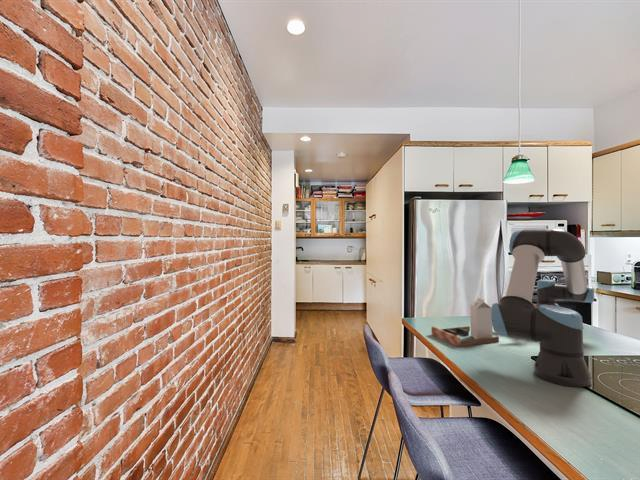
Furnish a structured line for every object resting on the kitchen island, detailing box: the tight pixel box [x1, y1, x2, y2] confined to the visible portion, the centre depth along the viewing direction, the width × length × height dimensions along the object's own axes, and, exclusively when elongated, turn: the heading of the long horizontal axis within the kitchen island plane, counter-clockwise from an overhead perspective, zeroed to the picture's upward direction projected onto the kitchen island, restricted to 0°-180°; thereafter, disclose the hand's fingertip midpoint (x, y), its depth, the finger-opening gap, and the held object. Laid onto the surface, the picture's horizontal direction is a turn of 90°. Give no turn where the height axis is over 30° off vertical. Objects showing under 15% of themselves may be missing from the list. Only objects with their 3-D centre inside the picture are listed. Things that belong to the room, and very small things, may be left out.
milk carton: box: [469, 296, 494, 339], centre depth 145 cm, size 7×7×19 cm
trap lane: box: [431, 325, 500, 348], centre depth 145 cm, size 19×22×4 cm
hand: (497, 315), depth 147 cm, fingers open, 13 cm apart
